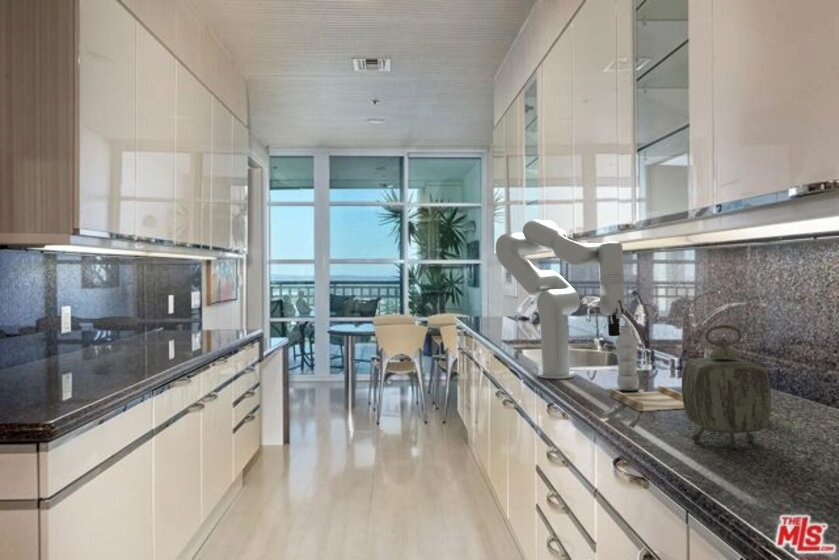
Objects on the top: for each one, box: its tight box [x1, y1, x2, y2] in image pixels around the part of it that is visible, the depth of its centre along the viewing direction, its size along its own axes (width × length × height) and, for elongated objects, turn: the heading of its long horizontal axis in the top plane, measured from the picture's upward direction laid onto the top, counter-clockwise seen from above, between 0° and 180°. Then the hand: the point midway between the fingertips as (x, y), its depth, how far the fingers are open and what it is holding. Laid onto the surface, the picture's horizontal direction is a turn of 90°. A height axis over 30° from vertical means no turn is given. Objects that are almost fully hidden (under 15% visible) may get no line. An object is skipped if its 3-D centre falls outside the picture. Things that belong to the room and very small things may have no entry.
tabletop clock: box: [681, 324, 772, 450], centre depth 110 cm, size 14×9×25 cm, turn 83°
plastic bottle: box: [615, 325, 640, 392], centre depth 165 cm, size 6×7×20 cm
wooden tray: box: [608, 384, 685, 412], centre depth 150 cm, size 20×16×2 cm
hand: (614, 335), depth 174 cm, fingers closed
